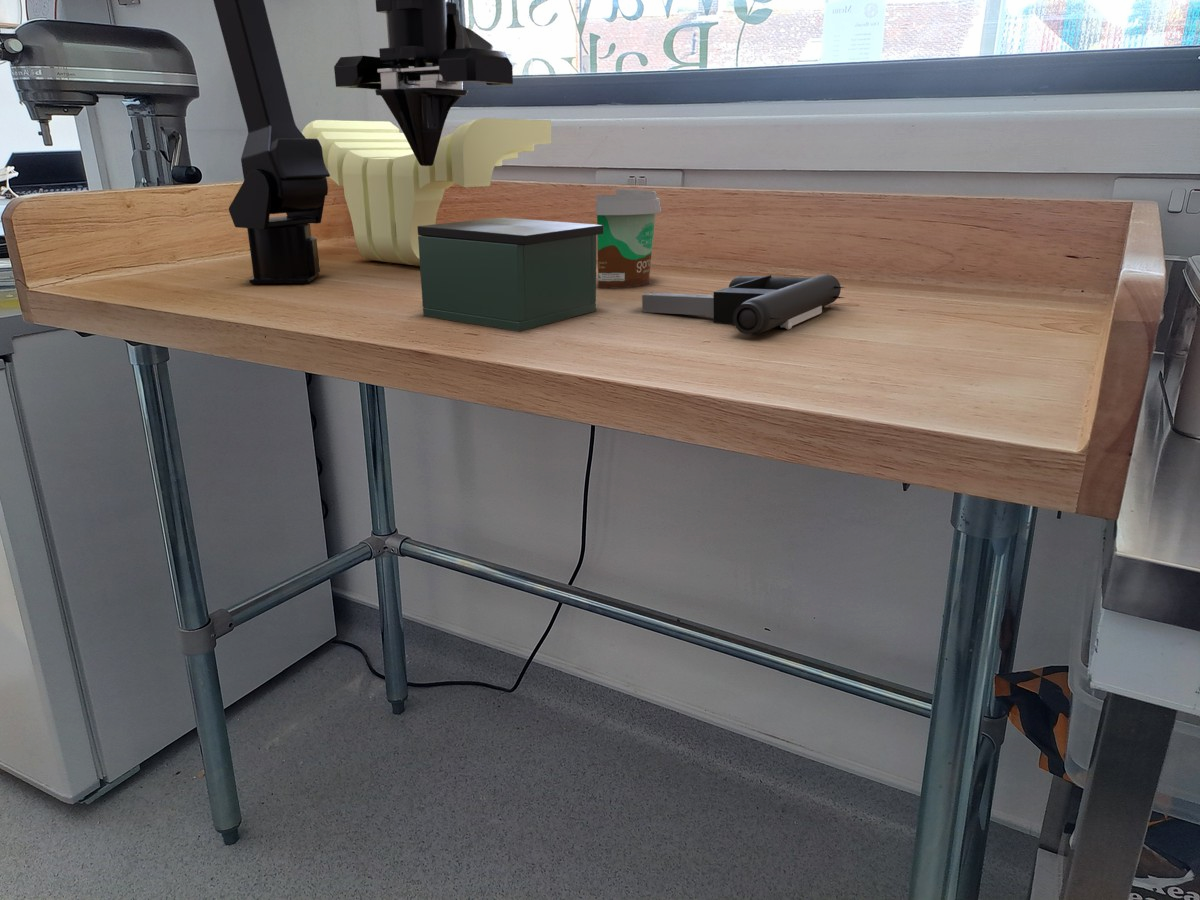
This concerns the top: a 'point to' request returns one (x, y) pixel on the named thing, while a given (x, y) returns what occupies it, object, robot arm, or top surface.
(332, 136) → the slatted curved stool
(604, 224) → the food container
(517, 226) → the box lid
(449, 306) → the box
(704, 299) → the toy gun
